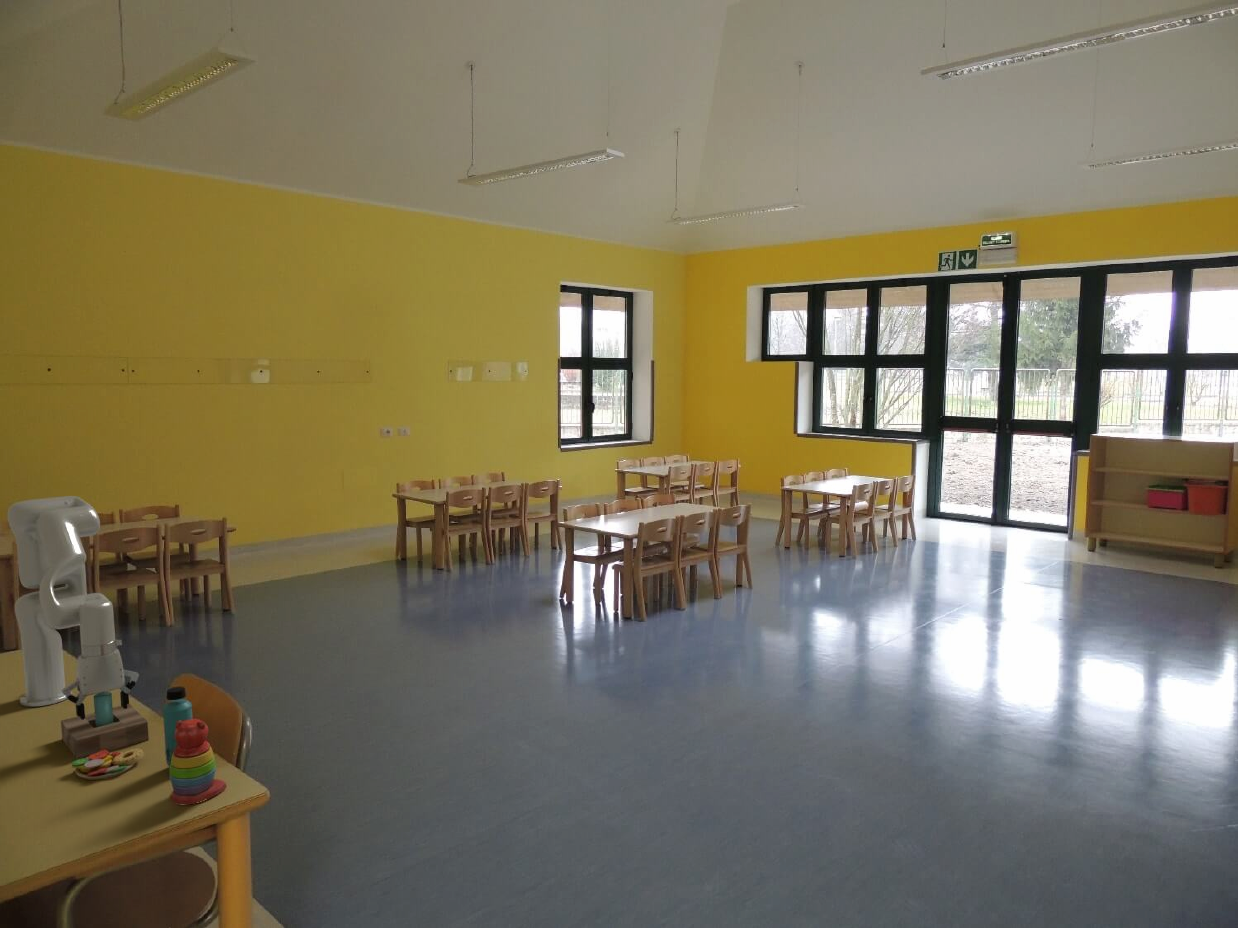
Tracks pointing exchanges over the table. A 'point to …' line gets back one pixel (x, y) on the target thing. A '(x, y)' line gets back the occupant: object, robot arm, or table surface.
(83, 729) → the socket block
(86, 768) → the toy food set
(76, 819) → the table surface
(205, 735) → the stacking bear
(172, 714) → the beverage bottle
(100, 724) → the peg
